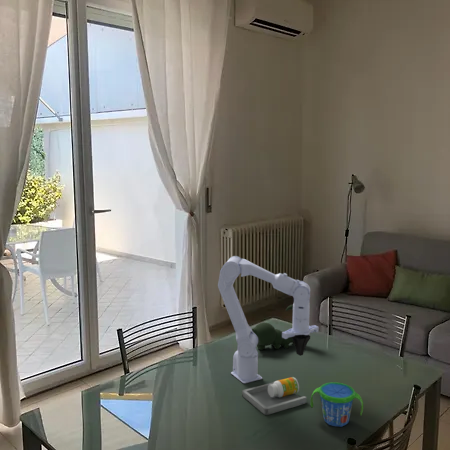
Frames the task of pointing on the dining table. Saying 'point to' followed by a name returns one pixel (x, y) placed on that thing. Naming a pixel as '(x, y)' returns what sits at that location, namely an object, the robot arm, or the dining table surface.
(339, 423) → the snack cup
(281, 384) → the supplement bottle
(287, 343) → the toy figurine
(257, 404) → the tray
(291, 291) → the robot arm
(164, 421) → the dining table surface
